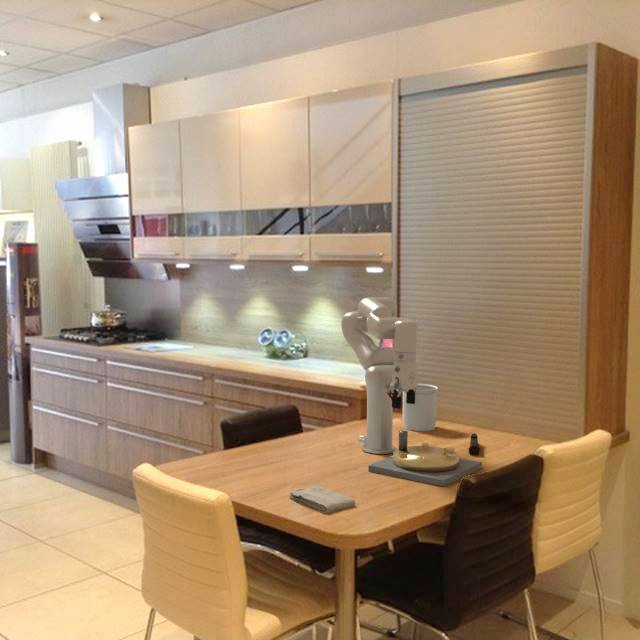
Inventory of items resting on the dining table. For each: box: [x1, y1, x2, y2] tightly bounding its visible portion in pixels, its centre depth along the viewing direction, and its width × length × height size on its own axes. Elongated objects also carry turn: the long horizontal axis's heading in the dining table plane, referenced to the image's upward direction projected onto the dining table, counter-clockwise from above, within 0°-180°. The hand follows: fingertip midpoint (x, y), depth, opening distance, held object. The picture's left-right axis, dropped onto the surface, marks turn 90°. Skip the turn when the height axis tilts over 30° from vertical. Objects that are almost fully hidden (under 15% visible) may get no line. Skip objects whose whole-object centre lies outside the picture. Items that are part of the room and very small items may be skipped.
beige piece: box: [392, 430, 460, 472], centre depth 260 cm, size 22×22×9 cm
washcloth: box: [288, 485, 356, 514], centre depth 225 cm, size 12×18×3 cm, turn 41°
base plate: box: [367, 455, 483, 487], centre depth 261 cm, size 28×28×2 cm
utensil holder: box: [402, 383, 439, 432], centre depth 324 cm, size 15×15×18 cm
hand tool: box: [468, 433, 481, 456], centre depth 289 cm, size 19×4×5 cm, turn 167°
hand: (403, 405), depth 265 cm, fingers open, 9 cm apart
